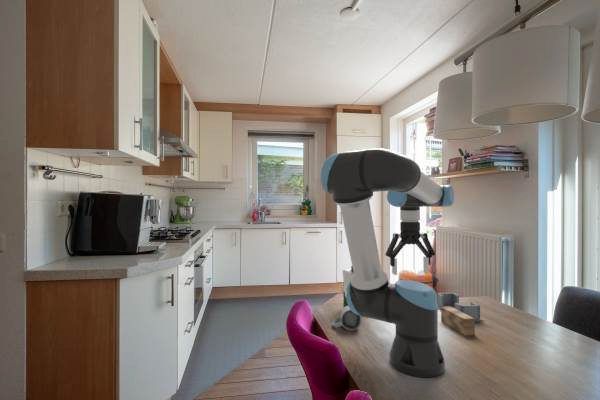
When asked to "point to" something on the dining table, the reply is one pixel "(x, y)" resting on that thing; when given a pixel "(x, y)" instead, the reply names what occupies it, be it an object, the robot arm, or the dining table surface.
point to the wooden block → (458, 320)
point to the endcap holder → (458, 305)
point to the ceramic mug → (347, 319)
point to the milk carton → (346, 282)
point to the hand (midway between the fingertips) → (410, 273)
